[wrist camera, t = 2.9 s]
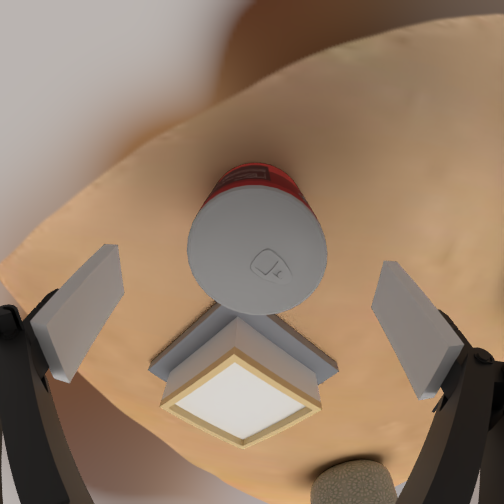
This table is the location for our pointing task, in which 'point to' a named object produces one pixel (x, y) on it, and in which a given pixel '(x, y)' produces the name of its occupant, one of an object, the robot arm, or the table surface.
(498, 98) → the table surface
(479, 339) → the table surface
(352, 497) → the planter
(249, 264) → the canned food
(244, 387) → the base
